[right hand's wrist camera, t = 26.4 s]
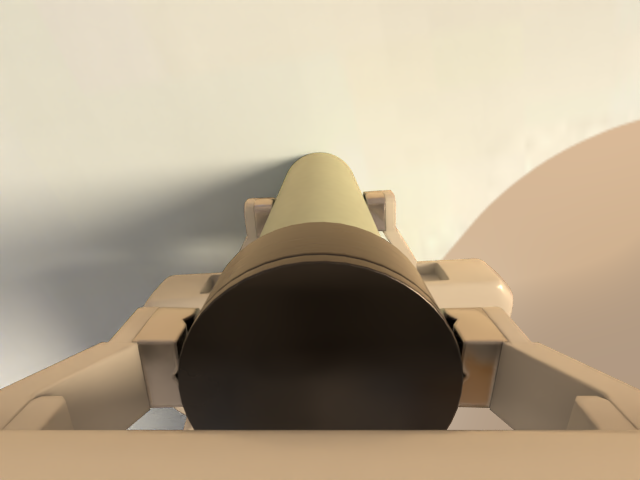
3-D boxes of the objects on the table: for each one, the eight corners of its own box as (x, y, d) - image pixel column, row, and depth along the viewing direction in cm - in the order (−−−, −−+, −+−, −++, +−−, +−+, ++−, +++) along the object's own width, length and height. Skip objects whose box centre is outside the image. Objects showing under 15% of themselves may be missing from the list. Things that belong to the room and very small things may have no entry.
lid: (352, 440, 12) (360, 524, 9) (173, 356, 10) (132, 428, 8) (477, 293, 10) (524, 352, 8) (278, 174, 9) (263, 201, 6)
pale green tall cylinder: (370, 196, 26) (466, 383, 9) (312, 236, 27) (301, 474, 10) (327, 137, 24) (345, 224, 7) (269, 181, 25) (168, 348, 8)
